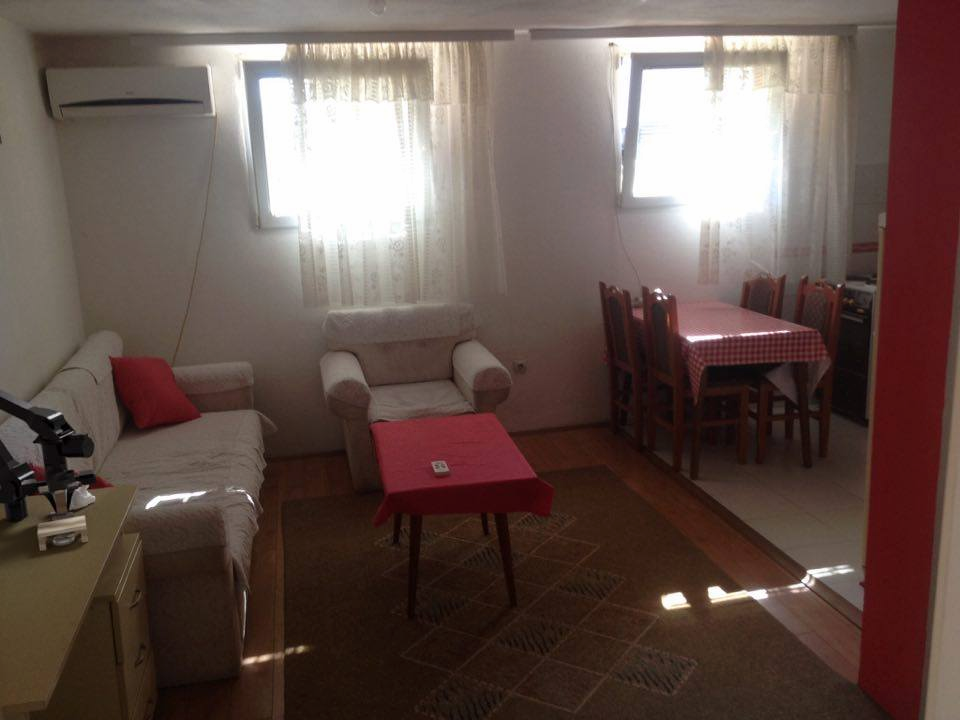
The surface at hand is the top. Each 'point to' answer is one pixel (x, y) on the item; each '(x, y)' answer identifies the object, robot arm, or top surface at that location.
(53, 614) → the top surface
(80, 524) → the footstool
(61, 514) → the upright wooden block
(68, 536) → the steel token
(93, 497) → the rabbit figurine
